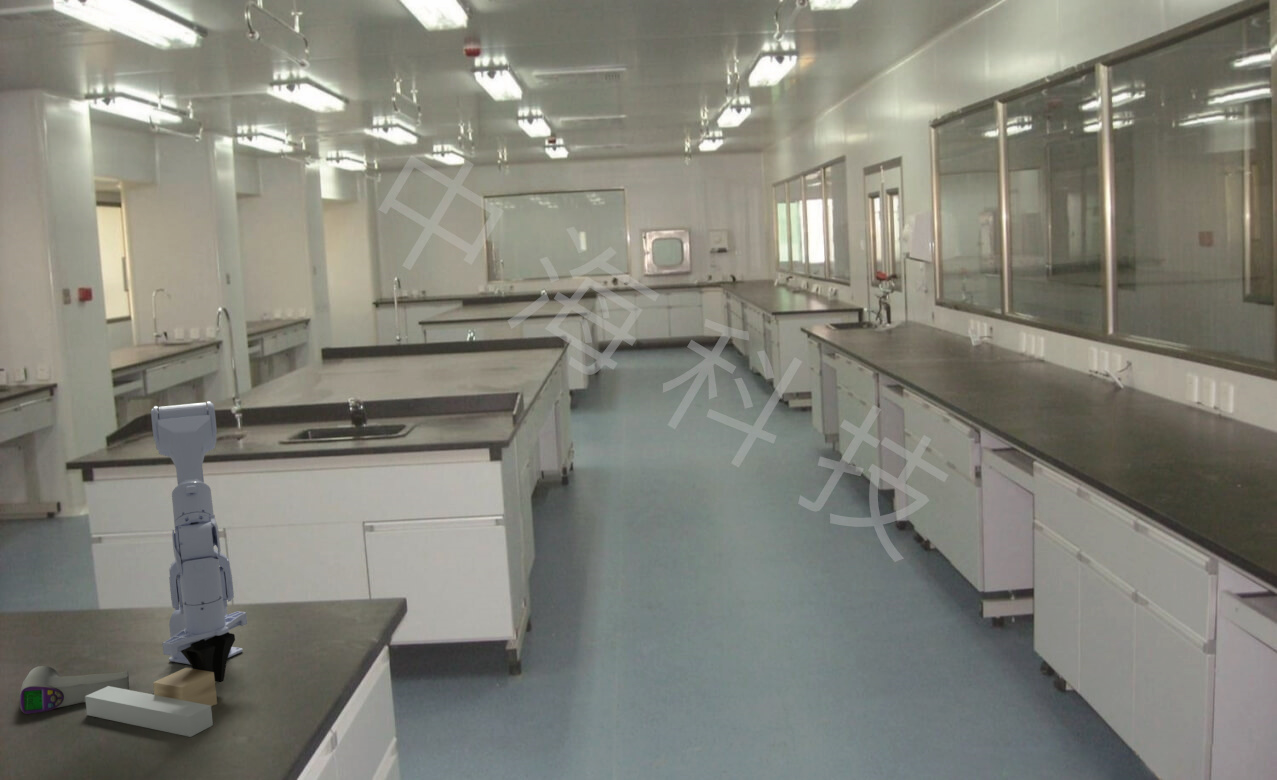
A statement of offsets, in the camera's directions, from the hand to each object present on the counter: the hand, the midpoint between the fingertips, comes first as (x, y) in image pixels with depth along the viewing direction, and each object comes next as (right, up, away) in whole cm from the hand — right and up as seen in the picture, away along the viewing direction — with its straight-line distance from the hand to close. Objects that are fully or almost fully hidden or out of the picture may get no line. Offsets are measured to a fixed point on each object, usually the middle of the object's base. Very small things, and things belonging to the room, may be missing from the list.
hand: (212, 683), depth 163 cm
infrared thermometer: (-23, -3, +5) cm, 24 cm away
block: (-2, -3, -4) cm, 5 cm away
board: (-6, -3, -8) cm, 10 cm away
